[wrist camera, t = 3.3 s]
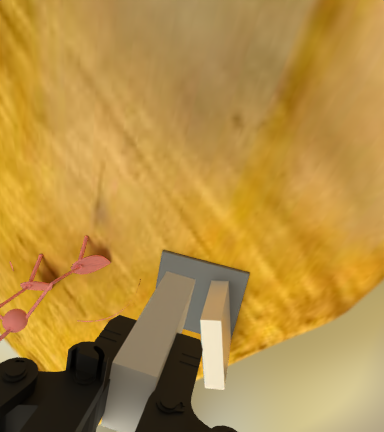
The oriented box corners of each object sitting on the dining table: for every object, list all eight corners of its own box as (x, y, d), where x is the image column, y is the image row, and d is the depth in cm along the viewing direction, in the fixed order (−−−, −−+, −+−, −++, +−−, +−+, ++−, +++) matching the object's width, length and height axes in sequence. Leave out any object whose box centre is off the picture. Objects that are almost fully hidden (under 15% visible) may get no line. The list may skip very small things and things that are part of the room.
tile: (231, 339, 52) (224, 389, 43) (214, 338, 53) (203, 388, 44) (228, 280, 50) (221, 320, 40) (210, 280, 50) (199, 319, 41)
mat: (163, 250, 51) (162, 251, 50) (249, 272, 49) (249, 274, 49) (151, 316, 55) (150, 319, 54) (230, 339, 53) (230, 342, 53)
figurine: (-1, 265, 57) (-341, 480, 25) (129, 212, 50) (-110, 419, 17) (45, 339, 61) (-202, 615, 28) (173, 300, 53) (41, 611, 21)
